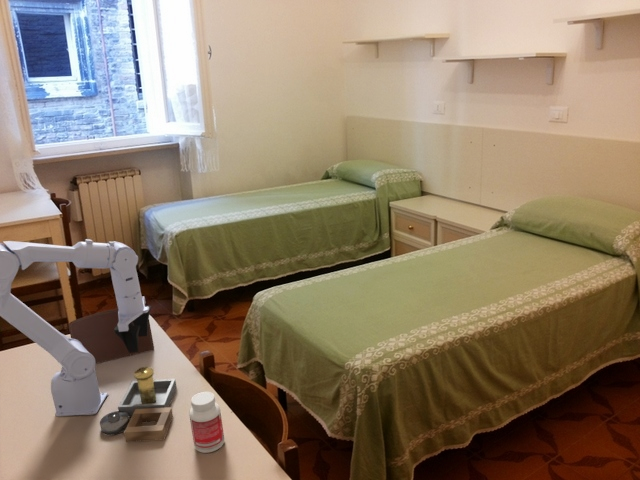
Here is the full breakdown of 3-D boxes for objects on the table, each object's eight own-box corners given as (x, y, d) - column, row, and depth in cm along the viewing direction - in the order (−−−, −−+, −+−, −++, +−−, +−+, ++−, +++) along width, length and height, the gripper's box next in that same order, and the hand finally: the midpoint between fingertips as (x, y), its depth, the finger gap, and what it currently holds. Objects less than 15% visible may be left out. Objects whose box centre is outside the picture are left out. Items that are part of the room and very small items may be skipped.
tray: (119, 417, 127) (117, 407, 126) (133, 390, 137) (132, 381, 136) (165, 414, 127) (164, 404, 126) (176, 388, 137) (175, 378, 136)
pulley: (97, 435, 121) (94, 424, 121) (106, 418, 127) (104, 407, 126) (124, 434, 121) (122, 423, 120) (133, 417, 127) (131, 406, 126)
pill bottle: (229, 445, 116) (223, 399, 112) (201, 458, 113) (194, 411, 109) (217, 430, 121) (210, 385, 117) (189, 442, 118) (182, 396, 114)
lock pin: (137, 406, 130) (131, 377, 127) (143, 396, 134) (137, 367, 131) (155, 406, 129) (149, 376, 127) (160, 395, 133) (155, 366, 131)
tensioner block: (125, 441, 119) (123, 432, 118) (137, 418, 127) (135, 409, 126) (163, 439, 119) (162, 430, 118) (172, 416, 126) (171, 407, 126)
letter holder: (154, 350, 156) (146, 303, 151) (77, 369, 149) (66, 320, 144) (150, 335, 164) (142, 290, 160) (77, 352, 157) (66, 306, 153)
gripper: (135, 305, 126) (146, 358, 131) (153, 279, 140) (162, 327, 144) (104, 307, 126) (116, 360, 131) (125, 281, 140) (135, 329, 145)
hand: (138, 343), depth 138 cm, fingers open, 7 cm apart
